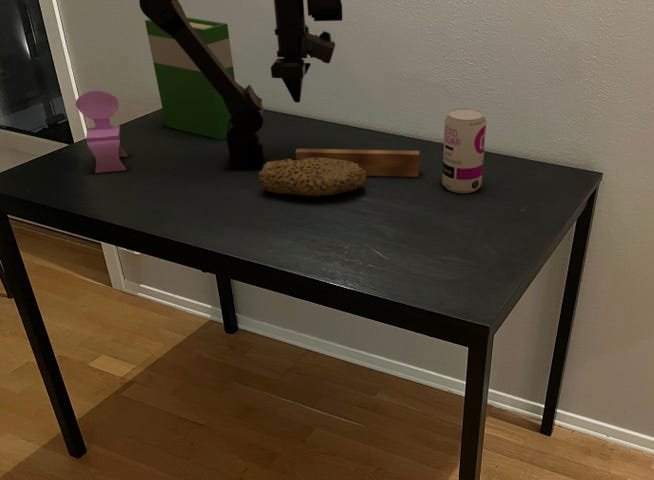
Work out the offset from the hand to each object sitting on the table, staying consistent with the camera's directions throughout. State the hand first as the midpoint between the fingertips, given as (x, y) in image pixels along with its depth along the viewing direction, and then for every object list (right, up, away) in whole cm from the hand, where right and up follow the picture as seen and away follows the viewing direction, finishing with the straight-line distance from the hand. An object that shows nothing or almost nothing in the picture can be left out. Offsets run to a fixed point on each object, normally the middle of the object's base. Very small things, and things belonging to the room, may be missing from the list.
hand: (297, 101), depth 150 cm
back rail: (+13, -15, +3) cm, 20 cm away
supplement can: (+35, -18, -2) cm, 39 cm away
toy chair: (-41, -12, +5) cm, 43 cm away
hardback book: (-27, +2, +24) cm, 36 cm away
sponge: (+5, -20, -5) cm, 21 cm away
